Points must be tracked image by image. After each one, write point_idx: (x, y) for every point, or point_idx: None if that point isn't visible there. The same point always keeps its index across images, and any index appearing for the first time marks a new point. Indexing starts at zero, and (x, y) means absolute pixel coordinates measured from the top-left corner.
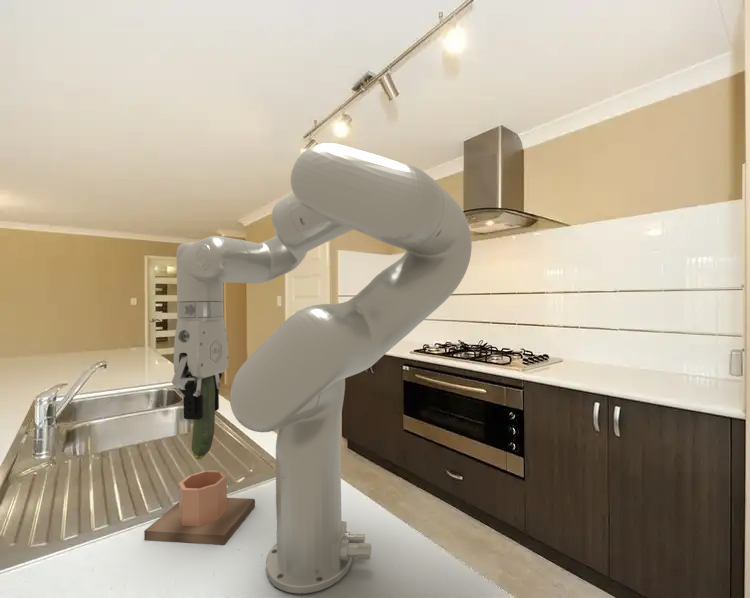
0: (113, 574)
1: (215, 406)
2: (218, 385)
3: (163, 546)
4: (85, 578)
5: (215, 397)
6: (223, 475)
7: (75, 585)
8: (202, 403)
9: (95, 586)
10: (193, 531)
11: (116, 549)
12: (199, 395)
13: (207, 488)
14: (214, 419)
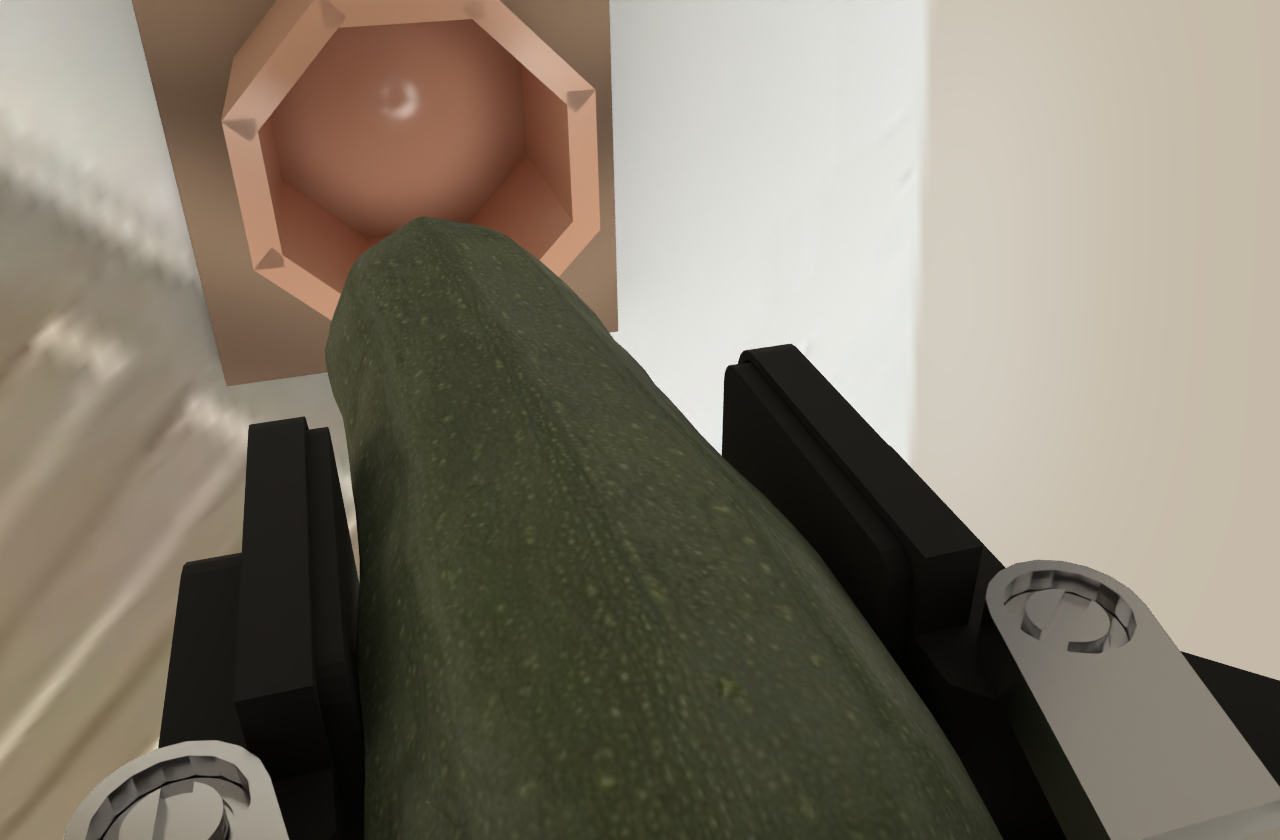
0: (832, 242)
1: (329, 466)
2: (161, 805)
3: (639, 168)
4: (853, 333)
5: (338, 571)
6: (308, 38)
7: (887, 334)
8: (850, 463)
9: (894, 252)
10: (588, 37)
11: (682, 377)
12: (932, 603)
13: (541, 43)
14: (404, 328)
